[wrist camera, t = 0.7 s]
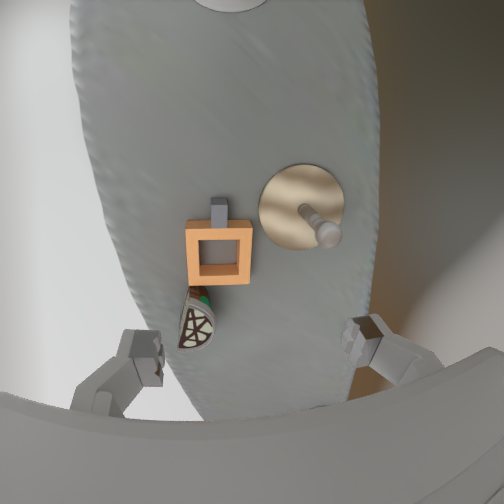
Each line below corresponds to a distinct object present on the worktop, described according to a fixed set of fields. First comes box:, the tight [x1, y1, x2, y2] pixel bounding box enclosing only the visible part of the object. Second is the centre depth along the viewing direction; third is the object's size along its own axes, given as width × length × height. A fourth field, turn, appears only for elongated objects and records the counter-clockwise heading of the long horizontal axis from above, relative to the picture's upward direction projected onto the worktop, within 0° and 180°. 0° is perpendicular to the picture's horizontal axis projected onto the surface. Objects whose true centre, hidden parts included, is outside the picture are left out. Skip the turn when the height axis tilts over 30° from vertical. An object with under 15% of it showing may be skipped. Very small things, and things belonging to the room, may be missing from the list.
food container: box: [177, 283, 216, 352], centre depth 51 cm, size 12×6×10 cm, turn 161°
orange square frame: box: [186, 198, 253, 286], centre depth 48 cm, size 15×11×4 cm
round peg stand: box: [258, 164, 344, 250], centre depth 43 cm, size 16×16×14 cm
